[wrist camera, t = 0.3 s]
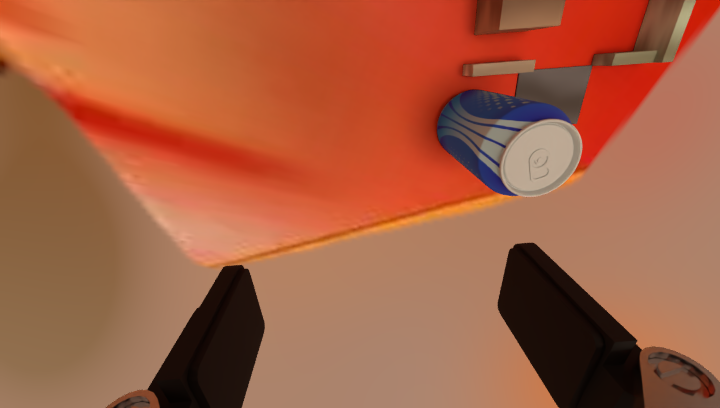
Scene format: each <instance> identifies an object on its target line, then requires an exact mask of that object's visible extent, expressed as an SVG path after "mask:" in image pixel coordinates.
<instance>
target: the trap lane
mask: <svg viewBox="0 0 720 408" xmlns="http://www.w3.org/2000/svg"><path fill="white" fill-rule="evenodd" d="M695 2H696V0H649V3H648V7H647V10H646V13H645V16H644V19H643V22H642V25H641V28H640V31H639V34H638V38H637V41H636V44H635V47H634V50H633V51H631V52H618V53H605V54H594V57H593V61H592V64H591V65H589V66H577V67H564V68H551V69H538V70H534V67H535V62H536V60H515V61H502V62H489V63H477V64H464V65H463V76H472V77H473V76H486V75H498V74H511V73H519V74H518V80H517V86H516V92H515V97H518V98H522V99H527V100H532V101H537V102H542V103H547V104H550V105H553V106H555V107H557V108H559V109H560V110H562V111H563V112H564V113H565V114H566V115H567V117H568V118H569V120H570V121H571V123H572V124H577V121H578V117H579V113H580V110H581V106H582V102H583V99H584V95H585V91H586V88H587V84H588V80H589V76H590V73H591V69H592V65H603V66H613V65H626V64H639V63H652V62H673V59H674V57H675V54H676V51H677V49H678V46H679V44H680V41H681V38H682V36H683V33H684V31H685V28H686V25H687V23H688V20H689V17H690V15H691V12H692V10H693V7H694V4H695Z"/></svg>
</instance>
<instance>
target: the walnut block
mask: <svg viewBox="0 0 720 408" xmlns="http://www.w3.org/2000/svg"><path fill="white" fill-rule="evenodd" d="M564 4H565V0H478V2H477V12H476V22H475V33H474V35H482V34H495V33H508V32H521V31H529V30H535V29H541V28H547V27H553V26H559V25H560V23H561V18H562V14H563V9H564Z"/></svg>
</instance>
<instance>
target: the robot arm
mask: <svg viewBox="0 0 720 408" xmlns="http://www.w3.org/2000/svg"><path fill="white" fill-rule="evenodd" d="M498 310H499V312H500V314H501V316H502V318H503V319H504V320H505V322H506V324H507V326H508V327H509V329H510V330H511V332H512V334H513V335H514V337H515V338H516V340H517V341H518V343H519V345H520V346H521V348H522V350H523V351H524V353H525V354H526V356H527V358H528V359H529V361H530V363H531V364H532V366H533V367H534V369H535V370H536V372H537V374H538V375H539V377H540V378H541V380H542V382H543V383H544V385H545V387H546V388H547V390H548V391H549V393H550V395H551V396H552V398H553V400H554V401H555V403H556V404H557V406H558V407H559V408H720V382H719V381H718V380H717V379H716V378H715V377H714V375H713V374H712V373H711V372H709V371H708V370H707V369H706V368H704V367H703V366H702V365H700V364H699V363H697V362H696V361H694V360H692V359H691V358H689V357H687V356H685V355H682V354H680V353H678V352H676V351H673V350H670V349H666V348H662V347H647V348H645V349H643V350H642V349H640V348H639V347H638V346H637V345H636V342H637V340H636V339H635V338H634V337H633V336H632V335H631V334H630V333H629V332H628V331H627V330H626V329H625V328H624V327H623V326H622V325H621V324H620V323H618V322H617V321H616V320H615V319H614V318H613V317H612V316H611V315H610V314H609V313H608V312H607V311H606V310H605V309H604V308H603V307H602V306H601V305H599V304H598V303H597V302H596V301H595V300H594V299H593V298H592V297H591V296H590V295H589V294H588V293H587V292H586V291H585V290H584V289H582V288H581V287H580V286H579V285H578V284H577V283H576V282H575V281H574V280H573V279H572V278H571V277H570V276H569V275H568V274H567V273H566V272H565V271H564V270H562V269H561V268H560V267H559V266H558V265H557V264H556V263H555V262H554V261H553V260H552V259H551V258H550V257H549V256H548V255H547V254H545V252H543V251H542V250H541V249H540V248H539V247H538V246H537V245H536V244H534V243H522V244H515V245H514V247H513V248H512V249H510V250H509V254H508V258H507V263H506V267H505V272H504V277H503V281H502V286H501V290H500V295H499V299H498ZM264 329H265V325H264V320H263V316H262V313H261V309H260V306H259V302H258V299H257V295H256V292H255V289H254V285H253V282H252V279H251V275H250V272H249V270H248V269H244V267H243V266H242V265H234V266H225V267H223V269H222V270H221V272H220V274H219V275H218V277H217V279H216V280H215V282H214V284H213V286H212V287H211V289H210V290H209V292H208V294H207V296H206V297H205V299H204V301H203V302H202V304H201V306H200V307H199V308H197V309H196V311H195V312H194V313H193V315H192V317H191V318H190V320H189V321H188V323H187V325H186V327H185V328H184V330H183V331H182V333H181V335H180V336H179V338H178V340H177V341H176V343H175V345H174V346H173V348H172V350H171V351H170V353H169V355H168V356H167V358H166V360H165V361H164V363H163V365H162V366H161V368H160V370H159V371H158V373H157V374H156V376H155V378H154V379H153V381H152V383H151V385H150V386H149V388H148V390H137V391H134V392H131V393H128V394H126V395H124V396H122V397H120V398H118V399H117V400H115V401H114V402H112V403H111V404H110V405H108V406H107V407H106V408H242V405H243V401H244V398H245V394H246V391H247V388H248V384H249V381H250V378H251V374H252V371H253V368H254V364H255V361H256V357H257V354H258V351H259V347H260V344H261V341H262V337H263V334H264Z"/></svg>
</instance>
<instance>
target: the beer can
mask: <svg viewBox="0 0 720 408" xmlns="http://www.w3.org/2000/svg"><path fill="white" fill-rule="evenodd" d="M437 134H438V139H439V141H440V143H441V145H442V147H443V148H444V149H445V150H446V151H447V152H448V153H449V154H451V155H452V156H453V157H454V158H455V159H456V160H458V161H459V162H460V163H461V164H462V165H463V166H465V167H466V168H467V169H468V170H469V171H470V172H471V173H473V174H474V175H475V176H476V177H477V178H478V179H480V180H481V181H482V182H483V183H484V184H485V185H486V186H488V187H489V188H490V189H492V190H493V191H495V192H497V193H500V194H503V195H509V196H524V197H535V196H540V195H544V194H547V193H549V192H551V191H553V190H555V189H556V188H558V187H559V186H561V185H562V184H563V183H564V182H565V181H566V180H567V179H568V178H569V177H570V176H571V175H572V173H573V172H574V170H575V169H576V167H577V165H578V163H579V161H580V158H581V153H582V140H581V137H580V134H579V132H578V131H577V130H576V128H575V127H574V126H573V125H572V123H571V121H570V120H569V118H568V117H567V115H566V114H565V113H564V112H563V111H562V110H560V109H559V108H557V107H555V106H553V105H550V104H547V103H542V102H537V101H532V100H527V99H522V98H518V97H513V96H508V95H503V94H498V93H493V92H488V91H483V90H469V91H465V92H463V93H460V94H459V95H457V96H455V97H454V98H453V99H451V100H450V101H449V102H448V103H447V105H446V106H445V107H444V109H443V110H442V112H441V114H440V117H439V120H438V124H437Z"/></svg>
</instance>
